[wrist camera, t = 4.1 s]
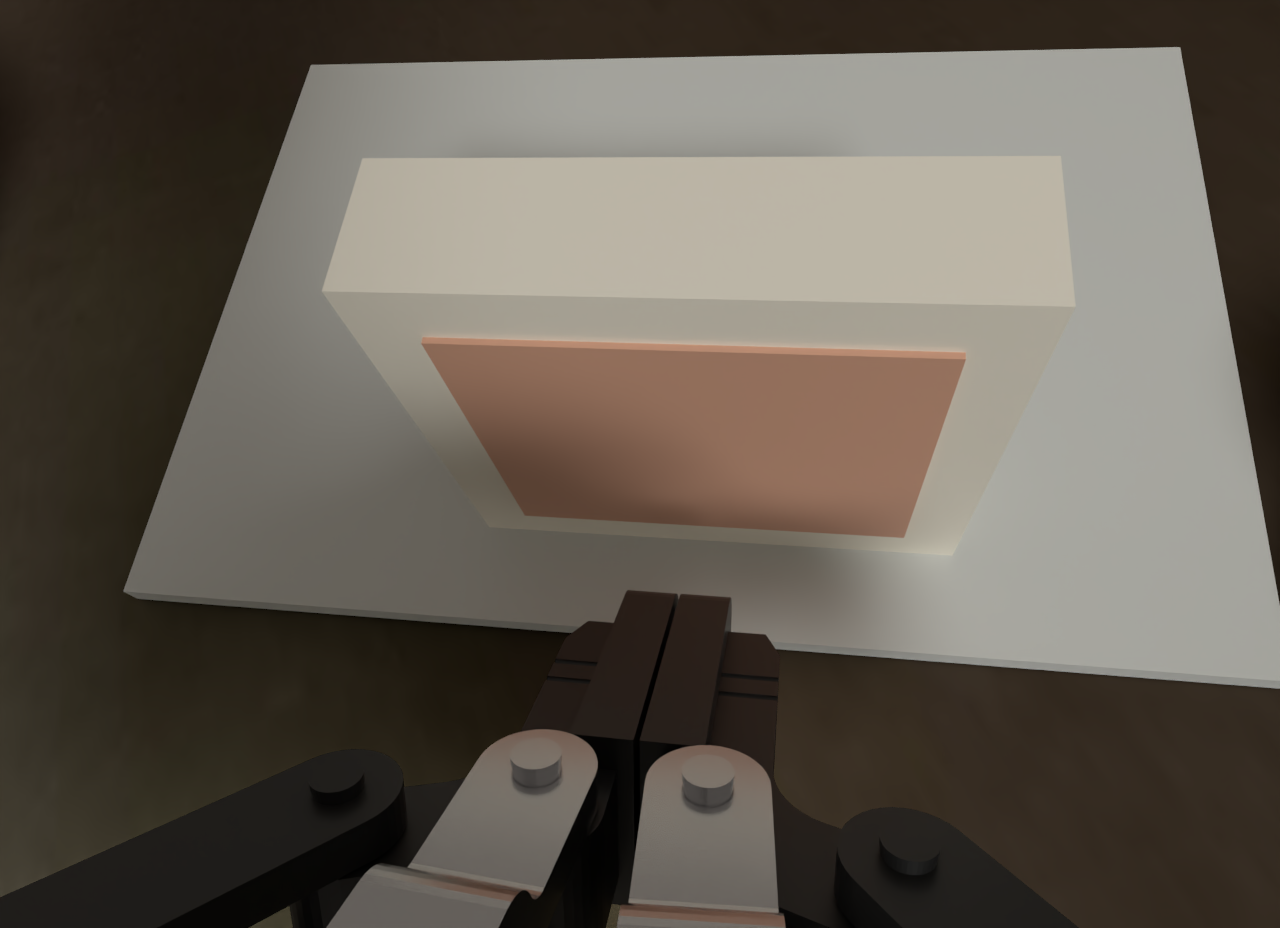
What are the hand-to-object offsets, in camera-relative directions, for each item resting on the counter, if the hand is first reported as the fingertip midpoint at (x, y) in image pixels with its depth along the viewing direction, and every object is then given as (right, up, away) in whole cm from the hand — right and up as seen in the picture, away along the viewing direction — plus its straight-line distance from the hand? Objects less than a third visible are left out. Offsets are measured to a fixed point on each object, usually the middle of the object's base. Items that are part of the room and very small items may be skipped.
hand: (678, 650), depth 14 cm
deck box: (+1, +2, +5) cm, 6 cm away
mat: (0, +6, +8) cm, 10 cm away
